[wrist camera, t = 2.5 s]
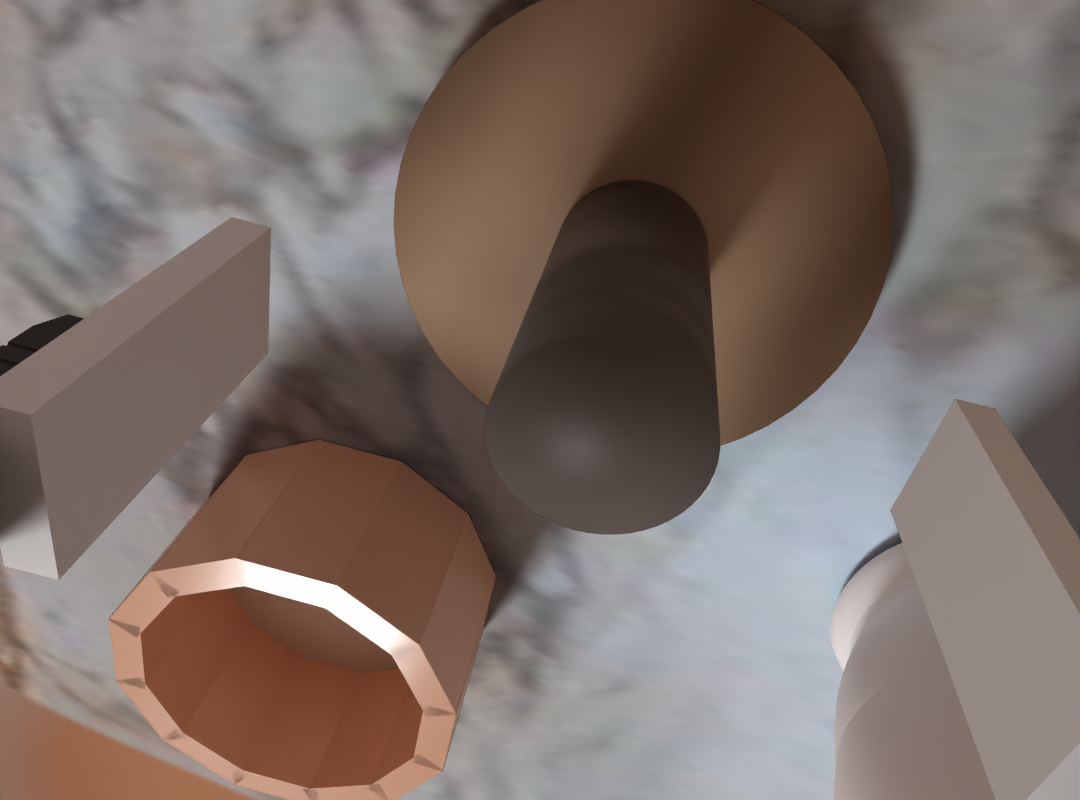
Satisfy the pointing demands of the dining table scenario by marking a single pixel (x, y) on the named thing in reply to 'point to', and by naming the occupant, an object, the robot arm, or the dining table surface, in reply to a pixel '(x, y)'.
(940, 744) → the jar
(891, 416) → the dining table surface
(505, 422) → the lid
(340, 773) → the bowl
